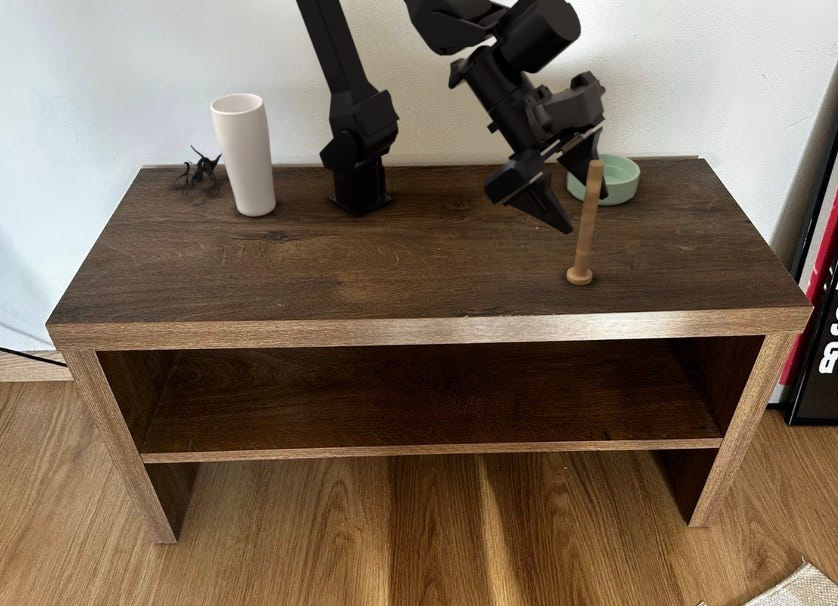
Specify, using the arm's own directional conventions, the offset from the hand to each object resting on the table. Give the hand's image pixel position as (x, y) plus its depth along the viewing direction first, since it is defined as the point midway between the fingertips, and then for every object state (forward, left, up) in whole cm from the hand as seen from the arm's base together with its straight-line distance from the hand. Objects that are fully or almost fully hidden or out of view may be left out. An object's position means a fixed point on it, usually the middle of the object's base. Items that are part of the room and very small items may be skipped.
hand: (588, 214), depth 79 cm
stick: (0, 0, -9) cm, 9 cm away
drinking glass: (-20, +41, -9) cm, 47 cm away
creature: (-23, +52, -9) cm, 58 cm away
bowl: (+20, +12, -9) cm, 25 cm away
